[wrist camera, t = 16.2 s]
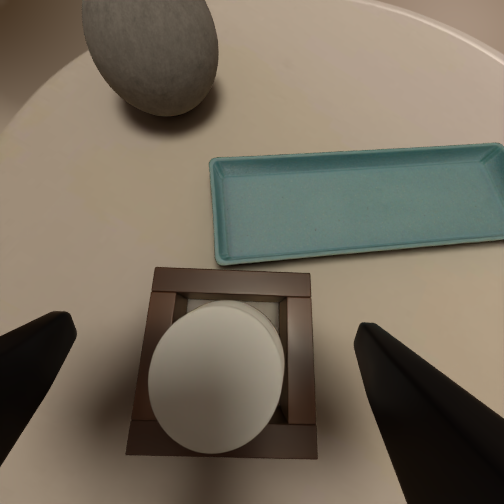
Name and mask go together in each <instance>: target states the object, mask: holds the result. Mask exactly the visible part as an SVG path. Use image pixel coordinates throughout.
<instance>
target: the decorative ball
mask: <svg viewBox="0 0 504 504" xmlns="http://www.w3.org/2000/svg"><path fill="white" fill-rule="evenodd" d="M82 22H83V29H84V35H85V39H86V43H87V46H88V49H89V52H90V54H91V56H92V59H93V61H94V63H95V65H96V67H97V68H98V70H99V72H100V74H101V75H102V77H103V78H104V79H105V81H106V82H107V83H108V84H109V86H110V87H111V88H112V89H113V90H114V91H115V92H116V93H117V94H118V95H119V96H120V97H121V98H123V99H124V100H125V101H126V102H128V103H129V104H131V105H132V106H134V107H136V108H138V109H140V110H142V111H144V112H146V113H150V114H153V115H158V116H175V115H180V114H183V113H186V112H188V111H190V110H191V109H193V108H195V107H196V106H197V105H198V104H199V103H200V102H201V101H202V100H203V99H204V98H205V97H206V95H207V94H208V92H209V90H210V89H211V86H212V84H213V82H214V79H215V75H216V71H217V66H218V39H217V34H216V29H215V25H214V22H213V19H212V16H211V13H210V11H209V8H208V6H207V4H206V2H205V0H83V2H82Z"/></svg>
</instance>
